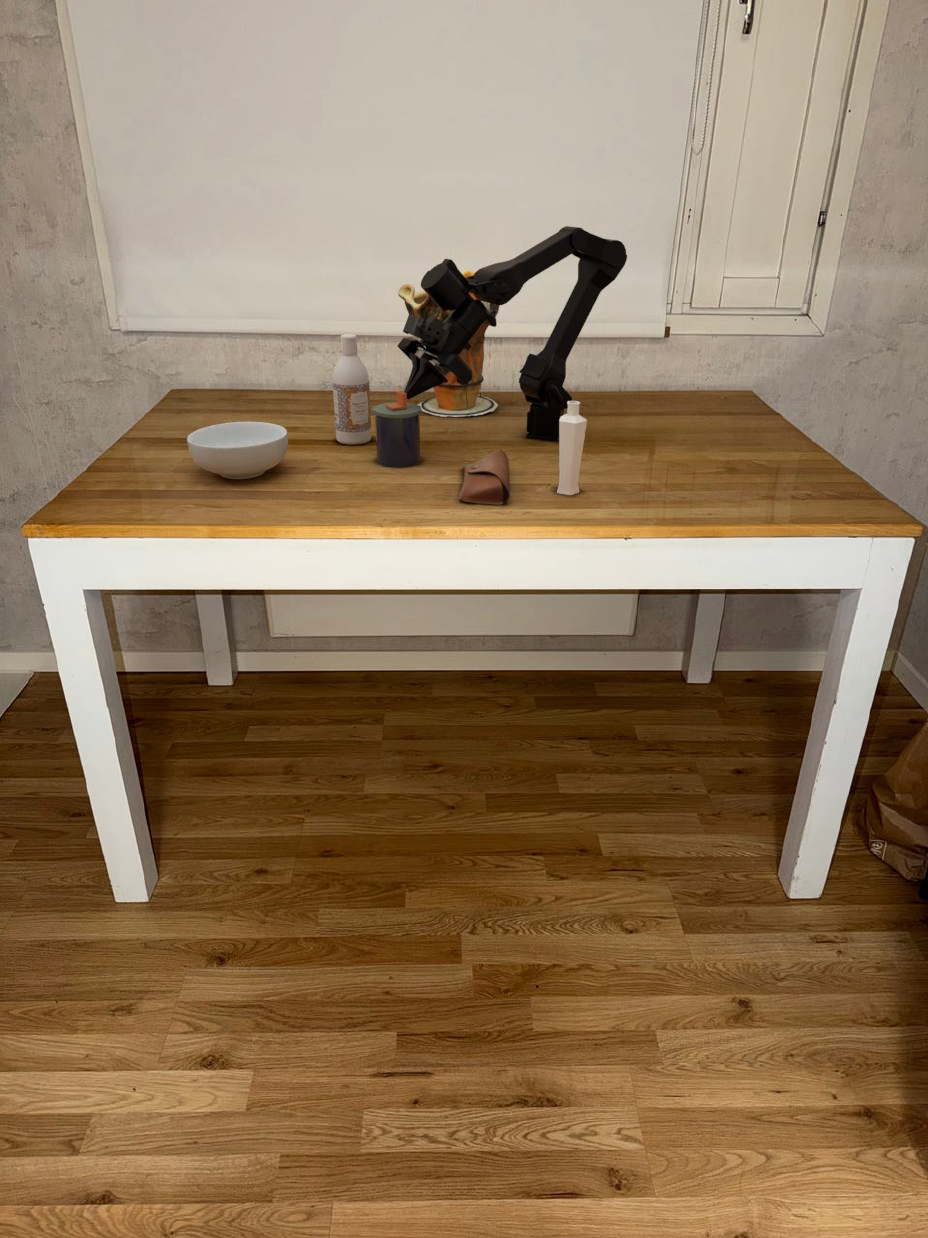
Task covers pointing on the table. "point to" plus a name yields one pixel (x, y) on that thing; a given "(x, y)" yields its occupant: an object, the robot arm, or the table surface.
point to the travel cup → (397, 435)
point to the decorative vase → (451, 394)
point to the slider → (399, 402)
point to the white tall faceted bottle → (570, 448)
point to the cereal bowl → (238, 448)
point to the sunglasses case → (487, 480)
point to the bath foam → (351, 395)
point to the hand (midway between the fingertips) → (405, 397)
